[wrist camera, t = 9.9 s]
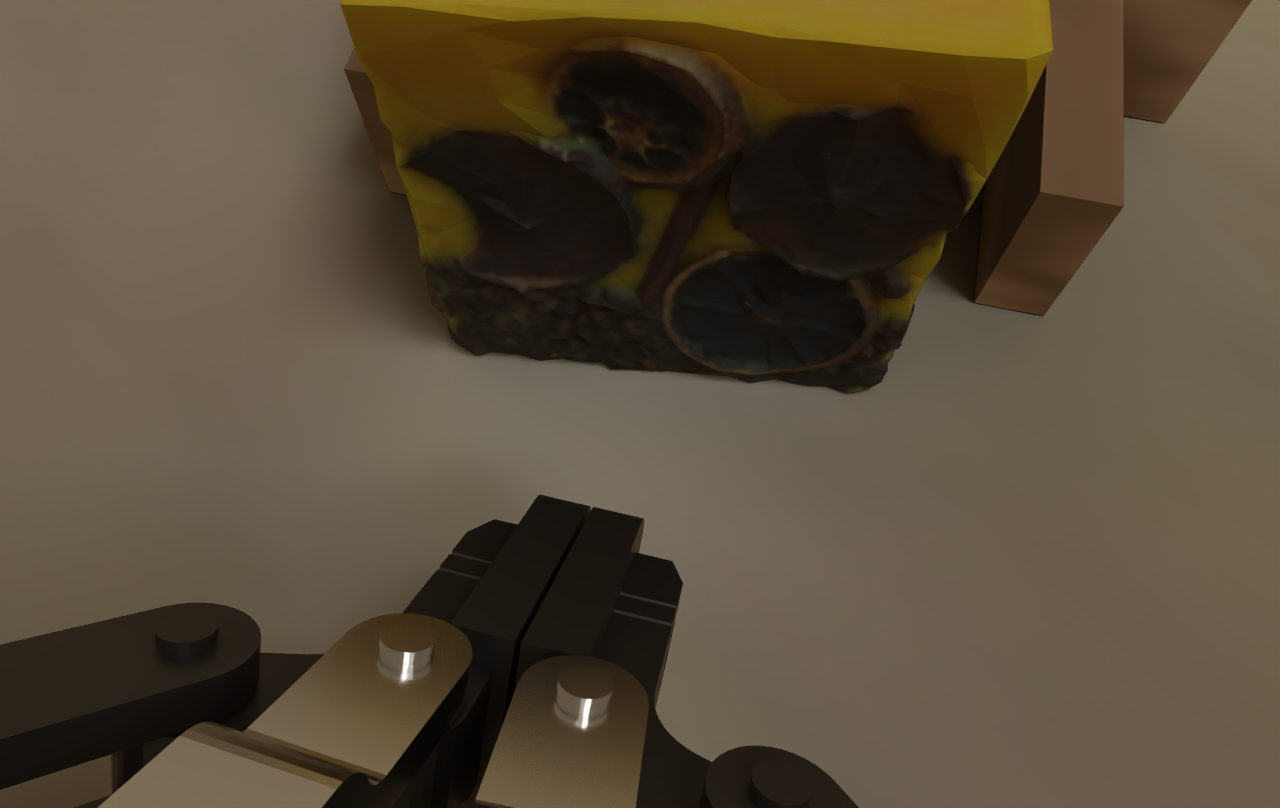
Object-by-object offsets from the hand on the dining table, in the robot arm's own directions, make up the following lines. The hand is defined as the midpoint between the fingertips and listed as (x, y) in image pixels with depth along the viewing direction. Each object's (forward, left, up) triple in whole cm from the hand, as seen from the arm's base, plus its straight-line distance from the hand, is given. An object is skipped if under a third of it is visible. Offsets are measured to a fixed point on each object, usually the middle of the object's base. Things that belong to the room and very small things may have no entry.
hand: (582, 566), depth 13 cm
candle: (+1, -11, -6) cm, 13 cm away
